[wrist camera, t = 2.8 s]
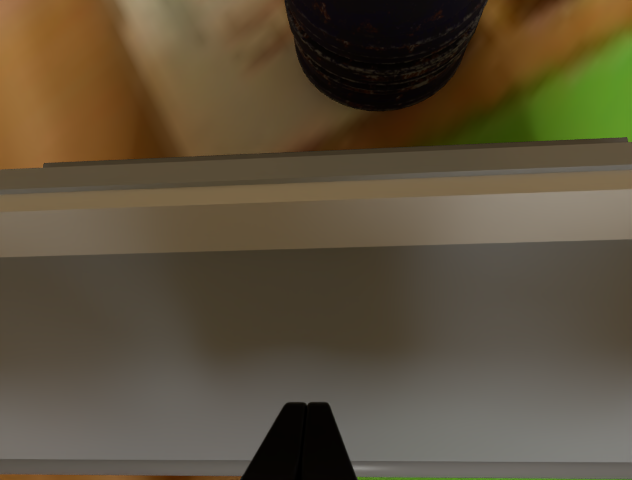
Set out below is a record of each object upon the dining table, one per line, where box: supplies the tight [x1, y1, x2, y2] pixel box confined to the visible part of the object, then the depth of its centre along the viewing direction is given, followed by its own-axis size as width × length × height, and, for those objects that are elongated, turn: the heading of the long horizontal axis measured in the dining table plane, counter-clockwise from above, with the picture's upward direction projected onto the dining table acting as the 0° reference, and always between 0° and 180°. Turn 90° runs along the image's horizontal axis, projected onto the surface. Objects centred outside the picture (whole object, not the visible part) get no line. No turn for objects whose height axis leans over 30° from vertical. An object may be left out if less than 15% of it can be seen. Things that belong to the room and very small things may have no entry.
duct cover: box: [0, 142, 632, 479], centre depth 11 cm, size 11×22×1 cm
